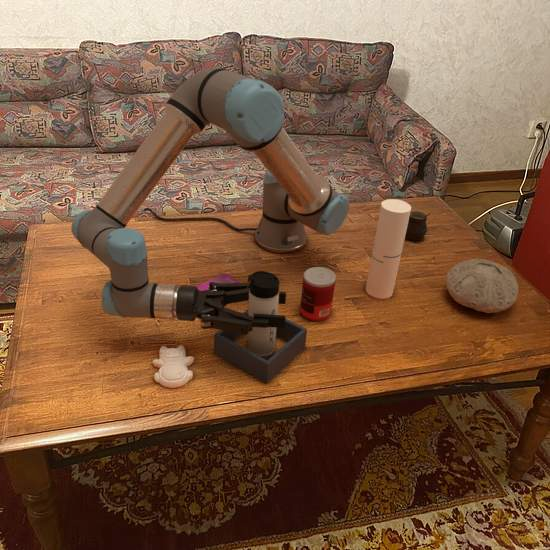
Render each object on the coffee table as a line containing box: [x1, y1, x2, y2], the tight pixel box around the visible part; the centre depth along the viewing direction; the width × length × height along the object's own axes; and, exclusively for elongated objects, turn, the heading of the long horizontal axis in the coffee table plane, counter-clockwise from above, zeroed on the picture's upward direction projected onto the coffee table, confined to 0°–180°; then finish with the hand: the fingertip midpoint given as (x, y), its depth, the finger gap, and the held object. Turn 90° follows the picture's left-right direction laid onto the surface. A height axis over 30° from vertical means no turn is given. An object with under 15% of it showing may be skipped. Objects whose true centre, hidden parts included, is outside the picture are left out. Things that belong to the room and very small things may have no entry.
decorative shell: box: [445, 257, 520, 314], centre depth 143 cm, size 18×18×10 cm
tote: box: [213, 308, 308, 384], centre depth 123 cm, size 15×15×6 cm
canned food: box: [299, 266, 337, 322], centre depth 134 cm, size 8×8×11 cm
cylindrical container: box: [365, 198, 412, 300], centre depth 140 cm, size 7×7×25 cm
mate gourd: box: [405, 210, 432, 242], centre depth 169 cm, size 7×8×10 cm
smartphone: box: [195, 272, 241, 291], centre depth 142 cm, size 7×15×1 cm, turn 137°
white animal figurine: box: [152, 344, 195, 389], centre depth 118 cm, size 9×12×3 cm
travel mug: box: [246, 270, 280, 360], centre depth 119 cm, size 6×7×20 cm
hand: (285, 309), depth 118 cm, fingers open, 8 cm apart
